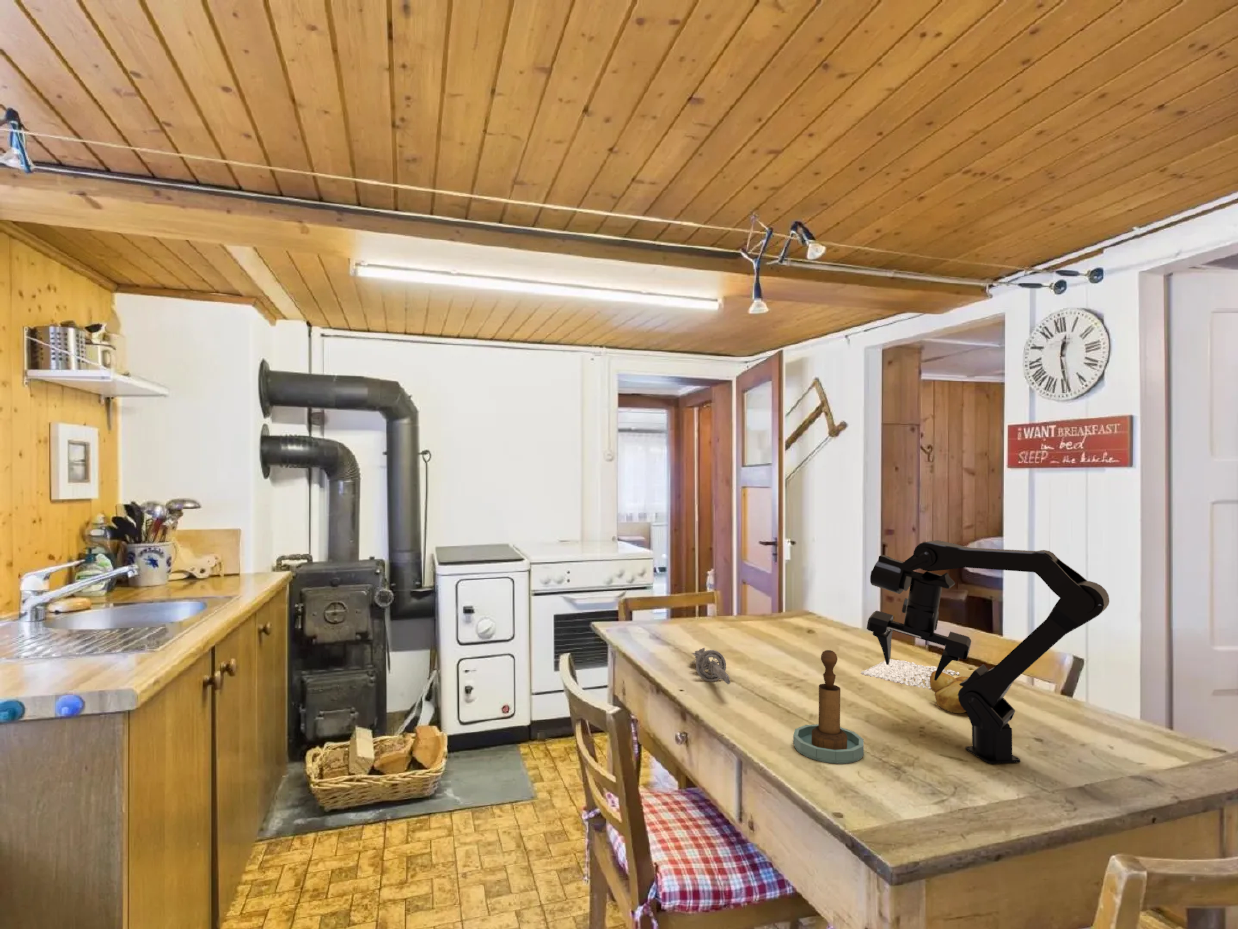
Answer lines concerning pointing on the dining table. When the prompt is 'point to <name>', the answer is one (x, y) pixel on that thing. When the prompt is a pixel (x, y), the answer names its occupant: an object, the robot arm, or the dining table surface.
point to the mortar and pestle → (829, 709)
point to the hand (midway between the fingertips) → (911, 671)
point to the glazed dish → (849, 755)
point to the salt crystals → (904, 672)
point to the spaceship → (710, 665)
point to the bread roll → (947, 691)
